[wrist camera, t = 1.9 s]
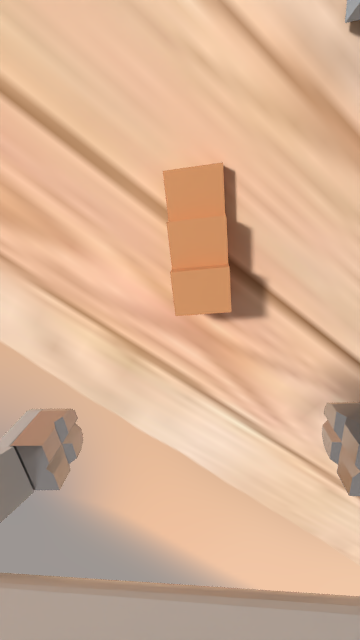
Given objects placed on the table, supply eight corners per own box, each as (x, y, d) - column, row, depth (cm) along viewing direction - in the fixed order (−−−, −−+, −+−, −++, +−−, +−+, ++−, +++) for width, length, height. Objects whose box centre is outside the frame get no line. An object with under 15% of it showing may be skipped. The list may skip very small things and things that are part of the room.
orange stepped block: (227, 298, 26) (231, 312, 23) (179, 302, 27) (175, 315, 23) (222, 165, 22) (225, 155, 18) (164, 173, 23) (157, 165, 19)
